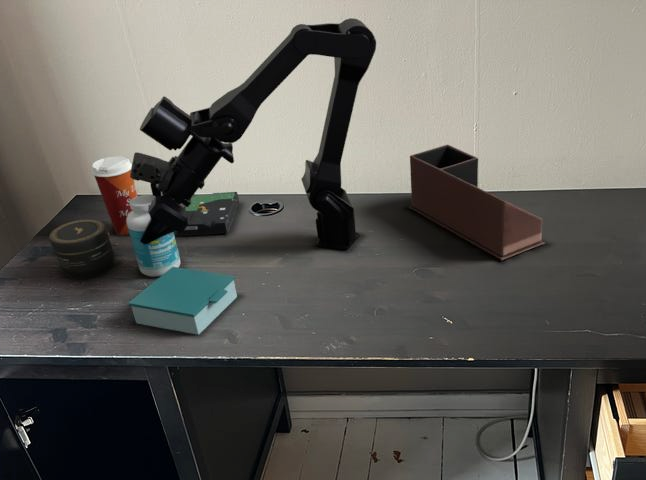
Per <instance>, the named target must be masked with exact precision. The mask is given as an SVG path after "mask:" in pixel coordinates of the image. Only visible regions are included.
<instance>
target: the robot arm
mask: <svg viewBox="0 0 646 480" xmlns="http://www.w3.org/2000/svg"><path fill="white" fill-rule="evenodd" d="M376 50H377V39H376V37H375V35H374V33H373V32H372V30H371V29H369V27H368V26H367V25H366V24H365V23H364V22H363V21H362V20H360V19H357V18H351V17H350V18H346V19H345V20H343V21H341V22H340V23H332V22H331V23H329V22H328V23H318V24H306V23H300V24H296V25H295V26H293V28H292V29H291V31H290V32H289V34H288V35H287V36H286V37H285V38H284V39H283V40H282V41H281V42H280V43H279V45H278V46H276V48H275V49H274V50H273V51H272V52H271V53H270V54H269V55H268V56H267V57H266V58H265V59H264V61H262V63H261V64H260V65H259V66H258V67H257V68H256V69H255V70H254V71H253V72H252V73H251V75H249V76H248V78H247V79H246V80H245V81H244V82H243V83H241V84H240V85H238V86H237V87H235V88H233V89H231V90H229V91H227V92H226V93H225V94H223V95H222V96H220V97H219V98H218V99H216V100H215V101H214V102H213V103H211V105H210V106H209V107H206V108H203V109H199V110H198V109H197V110H195V111H191V112H190V113H189V114H188V113H186V111H184V110H183V109H182V108H180V107H178V106H177V105H175V104H174V102H173V101H172V100H171V99H169V98H168V97H167V96H165V95H163V96H162V97H161V99H160V100H159V101H157V103H156V104H155V105H154V106H153V107H150V109H149V111H148V112H147V113H146V116H145V117H144V119H143V121H142V123H141V125H140V127H139V131H140V132H142V133H143V134H145V135H146V136H147V137H149V138H151V139H152V140H154V141H155V142H157V143H158V144H159V145H161V146H163V148H165V149H167V150H168V151H177V150H180V149H182V148H183V149H182V150H181V151H180V153H179V154H178V155H175V156H172V157H171V158H170V159H169V160H168V161H167V160H164V159H162V158H159V157H156V156H153V155H149V154H145V153H142V152H134V154H133V158H132V163H131V164H132V167H131V173H130V177H131V178H132V179H134V181H137V182H138V181H141V182H146V183H149V184H150V190H151V195H153V196H156V197H155V198H154V199H153V201H152V203H151V205H149V208H148V213H149V215H150V220H149V223H148V225H147V227H146V229H145V231H144V233H143V235H142V237H141V240H140V242H141V243H143V244H145V245H146V244H148V243H150V242H152V241H154V240H156V239H158V238H161V237H163V236H165V235H167V234H170V233H172V232H174V233H175V232H176V233H177V232H179V233H182V232H183V231H184V230H185V229H186V227H187V226H188V215H187V211H186V209H184V206H186V207H188V206H189V205H190V204H191V198H192V196H193V195H194V194H195V193H196V192H197V191H198V190H203V188H204V186H205V184H206V183H205V180H206V179H207V178H208V177H209V175H210V174H211V172H212V171H213V170H214V168H215V167H216V166H217V164H218V163H219V162H220V161H221V159H224V160H225V161H226V162H228V163H230V164H234V163H235V157H234V153H233V150H234V146H233V144H234V143H236V142H238V141H239V140H241V138H242V137H243V136H244V135H245V132H246V131H247V130H248V128H249V126H250V125H251V123H252V122H253V120H254V118H255V116H256V114H257V111H258V110H259V109H260V107H261V106H262V104H263V103H264V102H265V101H266V100H267V99H268V98H269V97H270V96H271V95H272V93H273V92H275V91H276V89H278V88H279V86H280V85H281V84H282V83H284V81H285V80H286V79H287V78H288V77H289V76H290V75H291V74H292V73H293V71H295V69H297V67H298V66H300V64H301V63H302V62H303V61H304V60H305V59H306V58H307V57H308V56H309V55H311V56H313V55H314V56H322V57H329V58H334V59H333V60H334V61H333V62H334V77H333V81H332V82H333V83H332V85H331V86H332V87H331V92H330V96H329V102H328V106H327V109H326V115H325V120H324V124H323V129H322V134H321V139H320V143H319V148H318V153H317V155H316V156H315V158H314V159H313V161H311V160H309V159H306V160H305V163H304V164H305V165H304V173H303V175H302V177H301V179H300V180H301V183H302V185H303V188H304V192H305V194H306V196H307V199H308V202H309V205H310V206H311V208H312V209H314V210H315V211H317V212H316V219H315V227H316V233H317V234H316V235H317V240H318V241H317V242H316V244H315V245H316V247H319V248H320V247H321V248H327V249H334V250H341V251H348V250H349V249H350V248H351V247H352V245H354V243H355V242H356V241H357V240H358V238H359V237H360V236H361V234H360V232H357V231H356V230H357V229H356V219H355V209H354V206H353V204H352V202H351V200H350V198H349V196H348V193H347V191H346V189H344V188H343V187H342V158H343V154H344V150H345V146H346V141H347V137H348V132H349V128H350V123H351V119H352V116H353V115H352V114H353V111H354V106H355V102H356V98H357V93H358V89H359V85H360V83H361V81H362V79H363V78H364V77H365V75H366V73H367V71H368V70H369V68H370V65H371V63H372V60H373V58H374V55H375V52H376ZM190 137H191V138H190ZM189 138H190V139H189ZM188 140H189V141H188ZM187 141H188V142H187ZM185 144H186V145H185ZM195 195H196V194H195ZM181 205H183V206H181Z"/></svg>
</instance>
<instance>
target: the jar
mask: <svg viewBox="0 0 646 480" xmlns="http://www.w3.org/2000/svg"><path fill="white" fill-rule="evenodd" d="M48 239H49V244H50V246H51V250H52V251H53V253H54V256H55V259H56V262H57V264H58V267H59V269H60V270H61V271H62V273H63V274H64V275H65V276H66V277H69V278H71V279H73V280H74V279H75V280H87V279H92V278H96V277H98V276H102V275H103V274H105V273H107V272H108V271H110V270H111V268H112V267H113V266H114V264H115V251H114V249H113V245H112V243H111V239H110V233H109V231H108V228H107V227H106V225H105V223H104V222H103V221H100V220H97V219H79V220H74V221H70V222H67V223H63V224H61V225H59V226H58V227H56V228H55V229H53V230H52V231H51V232H50V234H49V236H48Z"/></svg>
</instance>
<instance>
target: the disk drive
mask: <svg viewBox="0 0 646 480" xmlns="http://www.w3.org/2000/svg"><path fill="white" fill-rule="evenodd" d="M239 204H240V199H239V193H238V192H237V191H231V192H229V191H226V192H224V191H223V192H212V193H205V194H194V195H193V196H192V198H191V204H190V205H189V206H188V207H186V206H185V205H183V208H184V209H186V211H187V215H188V226H187V227H186V229H185V230H184V231H183V232H182V233H179V232H177V231H176V234H177V236H202V235H203V236H204V235H219V234H227V233H229V232H230V230H231V226H232V224H233V221H234V217H235V215H236V213H237V209H238V207H239Z"/></svg>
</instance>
